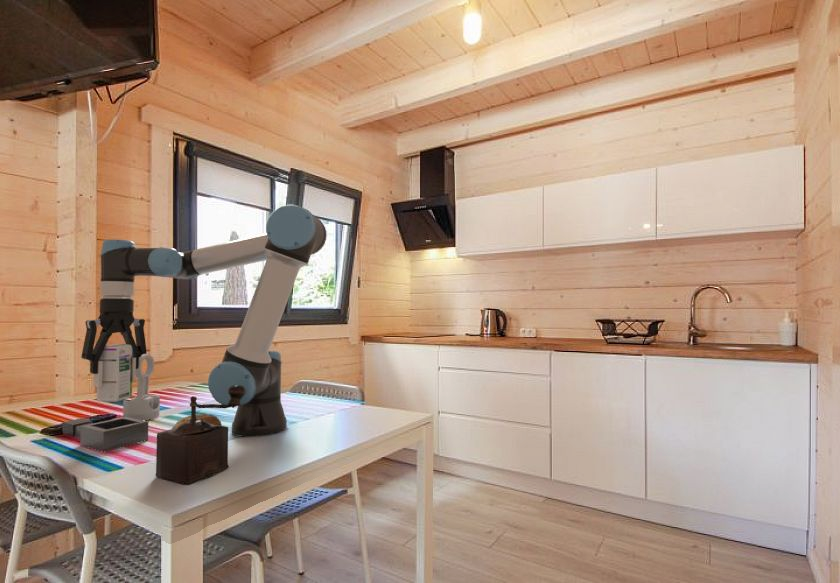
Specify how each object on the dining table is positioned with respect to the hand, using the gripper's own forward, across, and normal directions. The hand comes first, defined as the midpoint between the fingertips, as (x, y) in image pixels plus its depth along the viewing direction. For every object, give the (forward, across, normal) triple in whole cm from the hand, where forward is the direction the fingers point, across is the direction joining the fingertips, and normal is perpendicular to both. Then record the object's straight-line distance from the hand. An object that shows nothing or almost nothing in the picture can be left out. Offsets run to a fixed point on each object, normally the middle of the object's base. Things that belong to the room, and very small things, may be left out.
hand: (114, 383), depth 118 cm
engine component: (+16, -19, -21) cm, 32 cm away
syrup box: (+4, 0, 0) cm, 4 cm away
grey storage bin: (+16, 0, -8) cm, 18 cm away
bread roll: (+16, -9, +21) cm, 28 cm away
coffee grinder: (+16, +1, +38) cm, 41 cm away
